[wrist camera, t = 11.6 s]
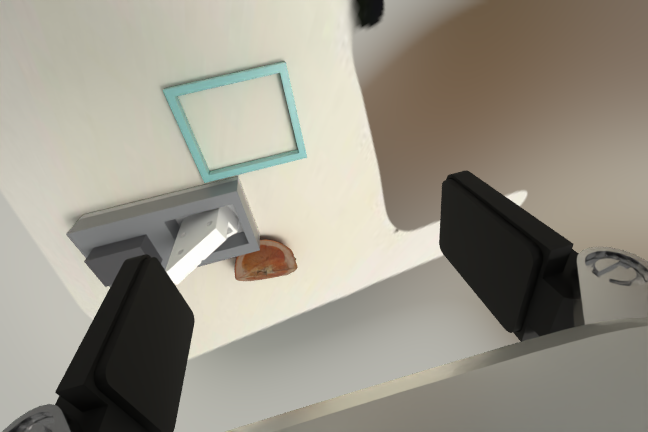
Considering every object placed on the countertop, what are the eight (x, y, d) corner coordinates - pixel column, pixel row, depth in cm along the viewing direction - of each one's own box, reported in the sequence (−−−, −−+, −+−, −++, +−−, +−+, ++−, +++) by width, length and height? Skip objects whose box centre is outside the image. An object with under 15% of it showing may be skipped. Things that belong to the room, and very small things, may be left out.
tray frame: (165, 88, 31) (162, 90, 30) (284, 61, 32) (285, 62, 31) (205, 178, 37) (204, 183, 36) (305, 153, 38) (307, 157, 37)
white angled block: (148, 248, 37) (163, 274, 30) (213, 193, 40) (239, 206, 34) (170, 266, 39) (189, 295, 32) (230, 213, 42) (258, 229, 36)
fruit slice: (291, 229, 44) (296, 251, 40) (295, 265, 48) (299, 288, 44) (232, 237, 43) (230, 260, 39) (240, 273, 46) (239, 297, 42)
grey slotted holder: (82, 214, 37) (54, 247, 31) (238, 176, 38) (236, 201, 33) (123, 268, 42) (104, 304, 37) (259, 232, 43) (260, 262, 38)
